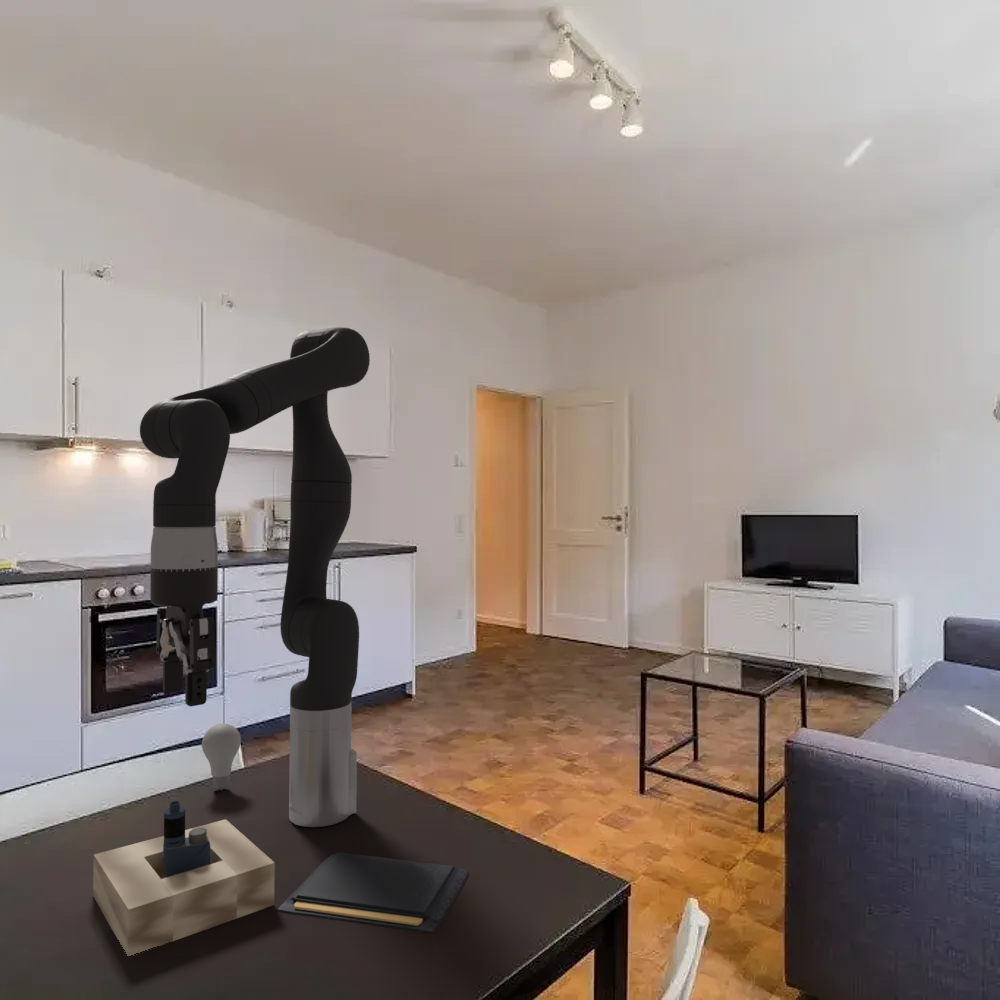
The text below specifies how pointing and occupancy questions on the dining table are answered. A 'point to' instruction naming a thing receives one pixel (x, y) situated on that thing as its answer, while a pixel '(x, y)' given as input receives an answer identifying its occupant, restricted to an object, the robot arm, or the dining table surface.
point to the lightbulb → (221, 752)
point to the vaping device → (183, 843)
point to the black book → (378, 892)
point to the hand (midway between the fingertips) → (183, 697)
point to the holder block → (180, 888)
